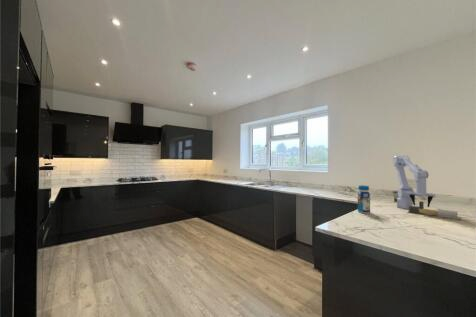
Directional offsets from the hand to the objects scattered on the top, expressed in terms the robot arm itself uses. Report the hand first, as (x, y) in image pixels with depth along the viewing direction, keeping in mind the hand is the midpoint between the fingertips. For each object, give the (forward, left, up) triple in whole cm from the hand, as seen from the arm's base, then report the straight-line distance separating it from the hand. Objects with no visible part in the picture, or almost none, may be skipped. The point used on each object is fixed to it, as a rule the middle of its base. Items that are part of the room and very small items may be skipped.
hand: (421, 205), depth 146 cm
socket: (-3, 0, -5) cm, 6 cm away
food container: (-20, +48, -7) cm, 53 cm away
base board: (+6, 0, -6) cm, 9 cm away
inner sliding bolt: (+4, 0, -5) cm, 6 cm away
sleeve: (+13, 0, -5) cm, 14 cm away
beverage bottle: (-30, -22, -7) cm, 38 cm away
